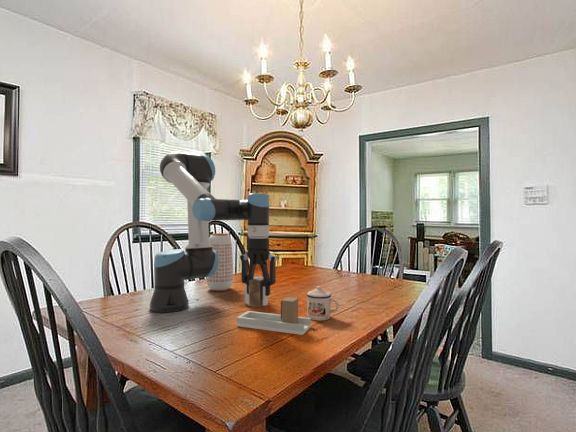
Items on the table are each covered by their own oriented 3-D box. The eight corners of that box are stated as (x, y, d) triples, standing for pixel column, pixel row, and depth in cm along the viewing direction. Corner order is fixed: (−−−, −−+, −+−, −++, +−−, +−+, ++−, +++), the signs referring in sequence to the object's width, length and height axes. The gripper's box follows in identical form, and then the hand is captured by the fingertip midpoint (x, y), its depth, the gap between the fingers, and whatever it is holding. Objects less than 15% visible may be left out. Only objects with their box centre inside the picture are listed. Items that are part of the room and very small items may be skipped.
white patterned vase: (230, 292, 173) (230, 234, 173) (203, 292, 173) (203, 234, 173) (235, 286, 187) (235, 233, 186) (209, 286, 187) (209, 232, 186)
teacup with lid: (303, 319, 131) (303, 287, 131) (310, 312, 139) (310, 283, 139) (335, 323, 127) (336, 290, 127) (340, 316, 135) (341, 285, 135)
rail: (236, 326, 123) (237, 297, 123) (248, 319, 131) (248, 291, 131) (302, 334, 114) (303, 303, 114) (310, 326, 123) (310, 297, 122)
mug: (259, 307, 147) (259, 280, 146) (240, 305, 150) (240, 279, 150) (272, 301, 157) (272, 276, 157) (254, 298, 161) (255, 274, 161)
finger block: (249, 305, 123) (249, 280, 123) (255, 302, 128) (255, 277, 128) (261, 307, 122) (261, 280, 121) (267, 303, 126) (267, 278, 126)
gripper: (230, 237, 124) (230, 304, 124) (277, 238, 118) (277, 309, 118) (241, 236, 131) (241, 299, 131) (285, 237, 125) (285, 303, 125)
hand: (258, 303), depth 125 cm, fingers closed on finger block, 5 cm apart
